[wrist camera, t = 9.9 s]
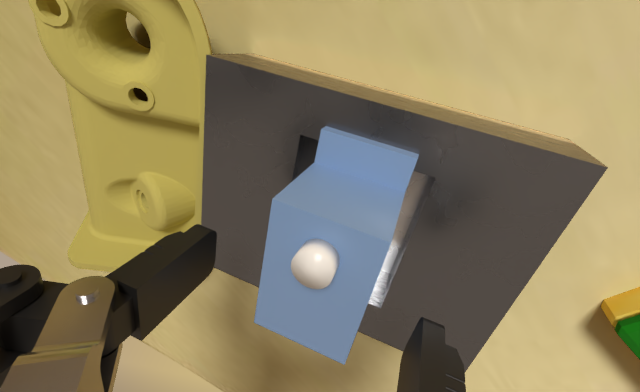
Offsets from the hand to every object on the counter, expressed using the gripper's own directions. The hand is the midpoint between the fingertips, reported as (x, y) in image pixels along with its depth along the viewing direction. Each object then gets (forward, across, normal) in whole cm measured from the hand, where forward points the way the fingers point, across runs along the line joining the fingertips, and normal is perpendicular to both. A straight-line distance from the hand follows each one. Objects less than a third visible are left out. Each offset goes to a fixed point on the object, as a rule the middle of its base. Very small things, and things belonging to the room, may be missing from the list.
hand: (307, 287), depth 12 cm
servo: (+7, 0, 0) cm, 7 cm away
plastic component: (+9, +14, 0) cm, 16 cm away
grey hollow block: (+8, 0, 0) cm, 8 cm away
